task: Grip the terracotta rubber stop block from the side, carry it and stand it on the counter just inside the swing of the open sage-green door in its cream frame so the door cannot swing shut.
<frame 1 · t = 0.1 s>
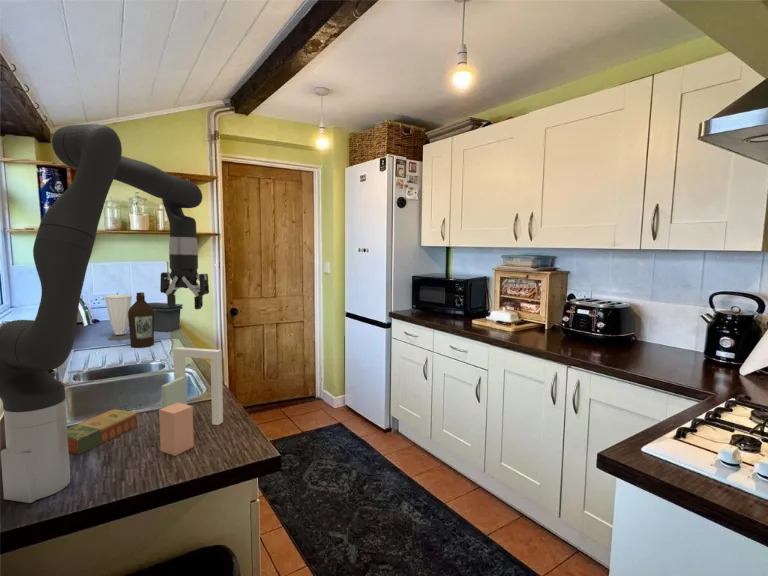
hand: (185, 308, 124), 29 cm above the countertop, tool pointing down, fingers open, 8 cm apart
olive oil: (142, 346, 197), on the countertop
door: (175, 403, 110), point 6 cm above the countertop, hinge at 90.0°
carton: (97, 439, 105), on the countertop
door frame: (199, 421, 115), on the countertop
cup: (120, 338, 212), on the countertop
stop block: (177, 448, 99), on the countertop
storage bin: (160, 330, 233), on the countertop
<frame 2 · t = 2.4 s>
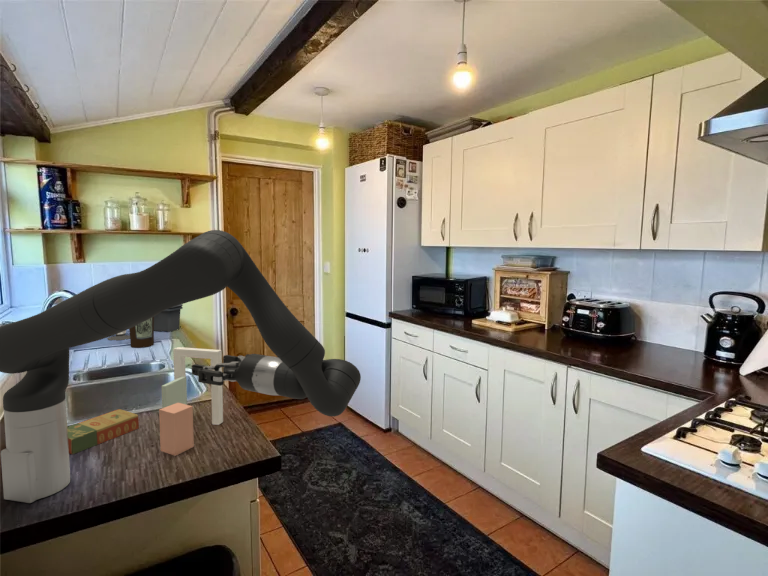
hand: (209, 364, 92), 22 cm above the countertop, tool horizontal, fingers open, 8 cm apart
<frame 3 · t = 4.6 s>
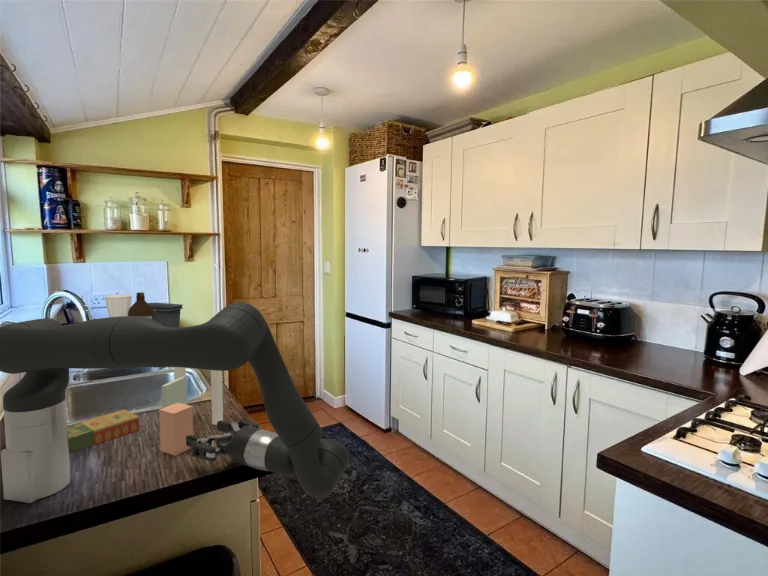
hand: (203, 432, 95), 6 cm above the countertop, tool horizontal, fingers open, 8 cm apart
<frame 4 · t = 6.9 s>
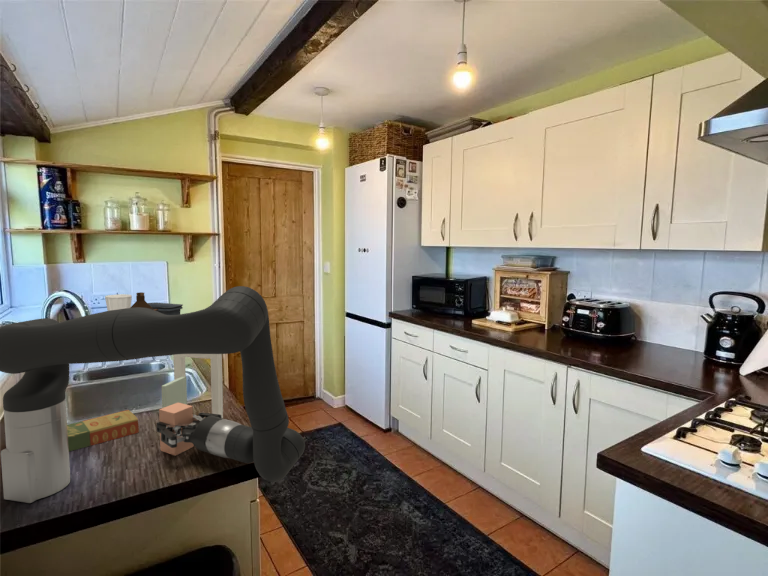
hand: (168, 421, 100), 6 cm above the countertop, tool horizontal, fingers closed on stop block, 5 cm apart
stop block: (177, 448, 99), on the countertop, touching gripper
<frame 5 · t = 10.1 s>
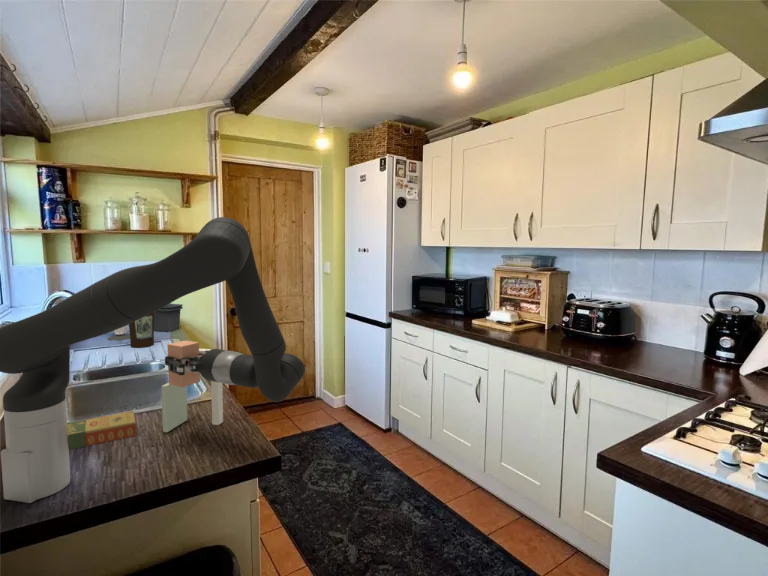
hand: (176, 357, 105), 20 cm above the countertop, tool horizontal, fingers closed on stop block, 5 cm apart
stop block: (184, 382, 105), point 14 cm above the countertop, touching gripper
when the fingers open (7 cm above the countertop, at t = 12.9 s): stop block stays where it is, on the countertop.
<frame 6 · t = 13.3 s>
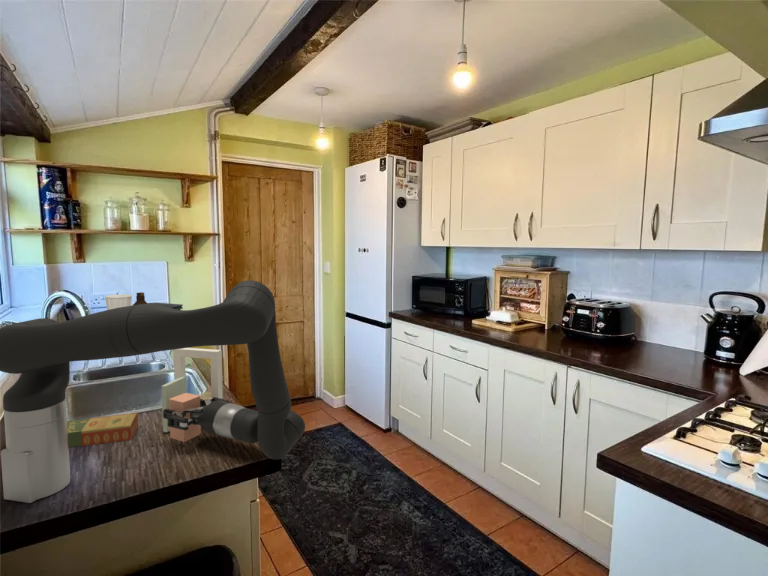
hand: (179, 407, 106), 7 cm above the countertop, tool horizontal, fingers open, 8 cm apart
stop block: (185, 435, 106), on the countertop
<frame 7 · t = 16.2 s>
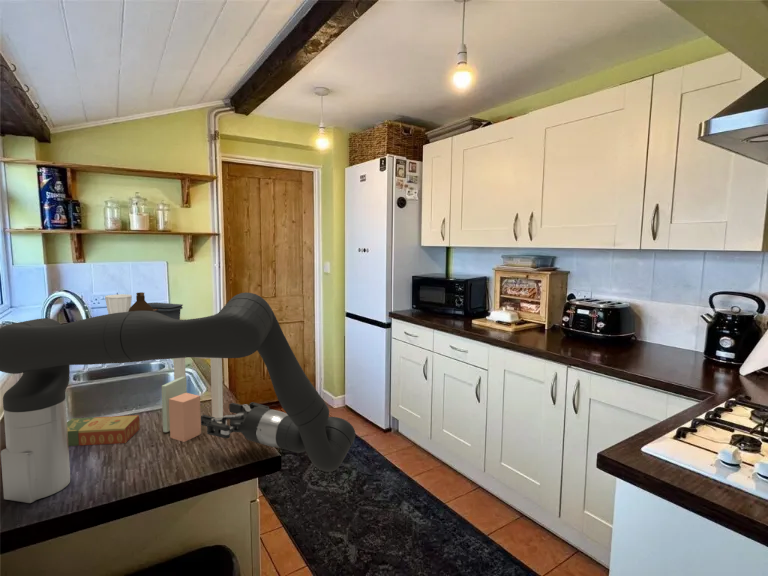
hand: (216, 413, 100), 8 cm above the countertop, tool horizontal, fingers open, 8 cm apart
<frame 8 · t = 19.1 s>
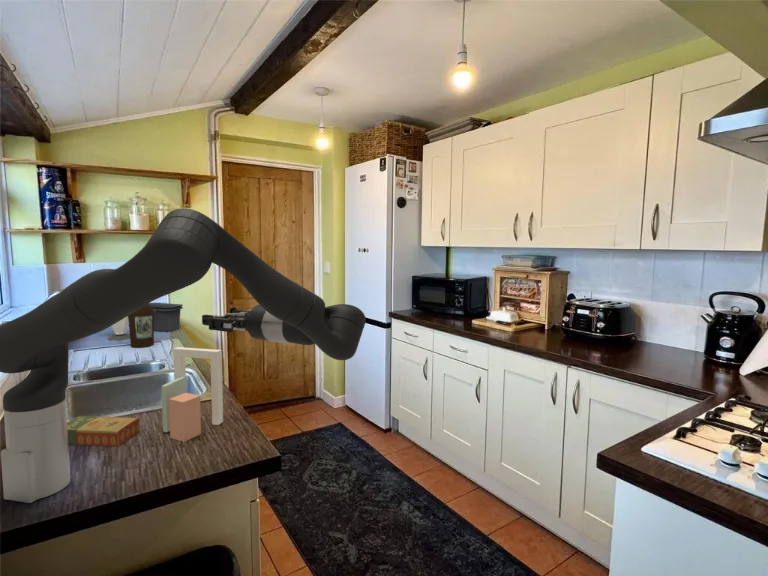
hand: (218, 316, 95), 32 cm above the countertop, tool horizontal, fingers open, 8 cm apart
at the end: stop block 0.3 cm from the target spot, on the countertop; stop block tilted 0°; door at +90° (first picture: +90°) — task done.
